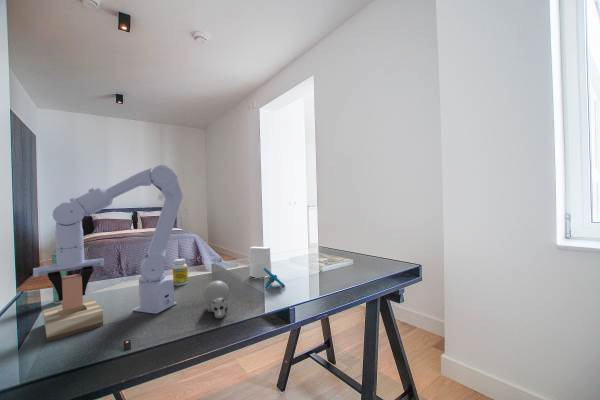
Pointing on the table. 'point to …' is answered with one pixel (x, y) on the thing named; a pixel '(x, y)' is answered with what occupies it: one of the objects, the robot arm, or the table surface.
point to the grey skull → (217, 297)
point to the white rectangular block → (259, 261)
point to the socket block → (72, 319)
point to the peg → (71, 291)
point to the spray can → (66, 273)
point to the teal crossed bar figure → (272, 279)
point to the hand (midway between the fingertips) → (72, 297)
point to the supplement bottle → (180, 272)
